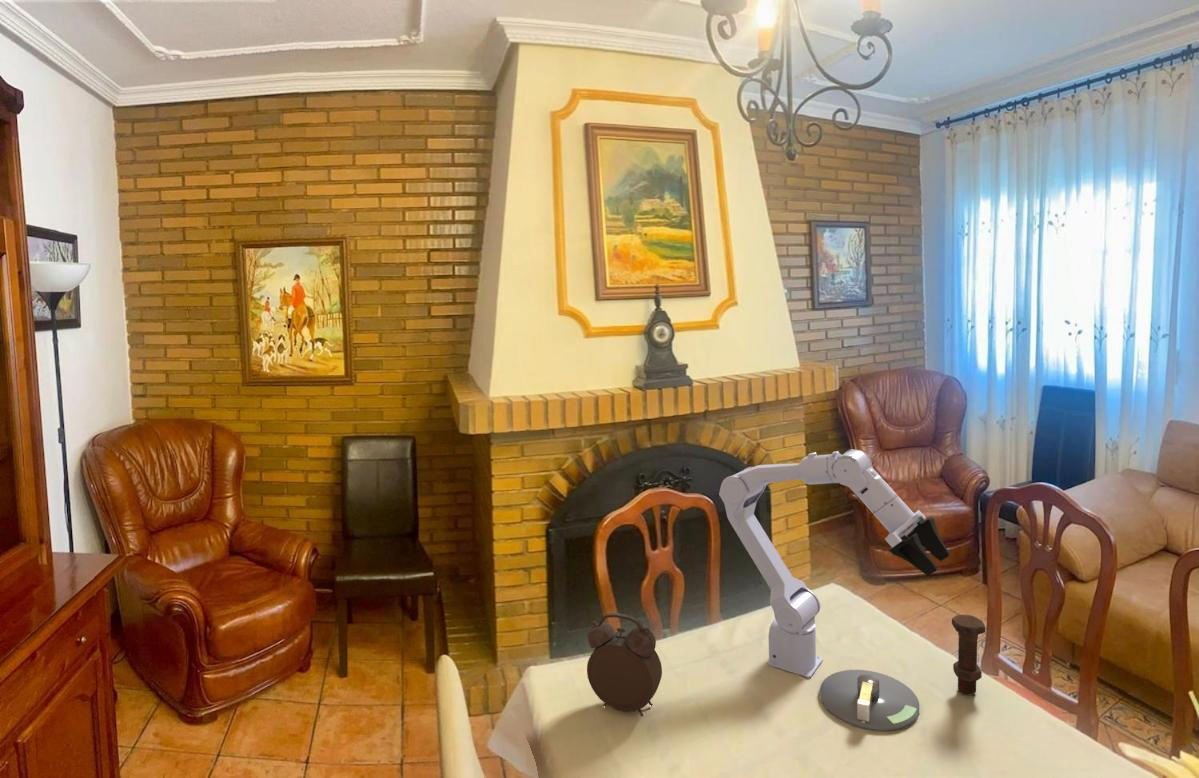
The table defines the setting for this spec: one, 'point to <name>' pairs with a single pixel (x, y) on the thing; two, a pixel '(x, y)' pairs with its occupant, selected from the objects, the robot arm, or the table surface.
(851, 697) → the dial plate
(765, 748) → the table surface
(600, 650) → the alarm clock
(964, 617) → the bolt
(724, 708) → the table surface
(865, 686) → the peg lever
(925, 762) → the table surface
